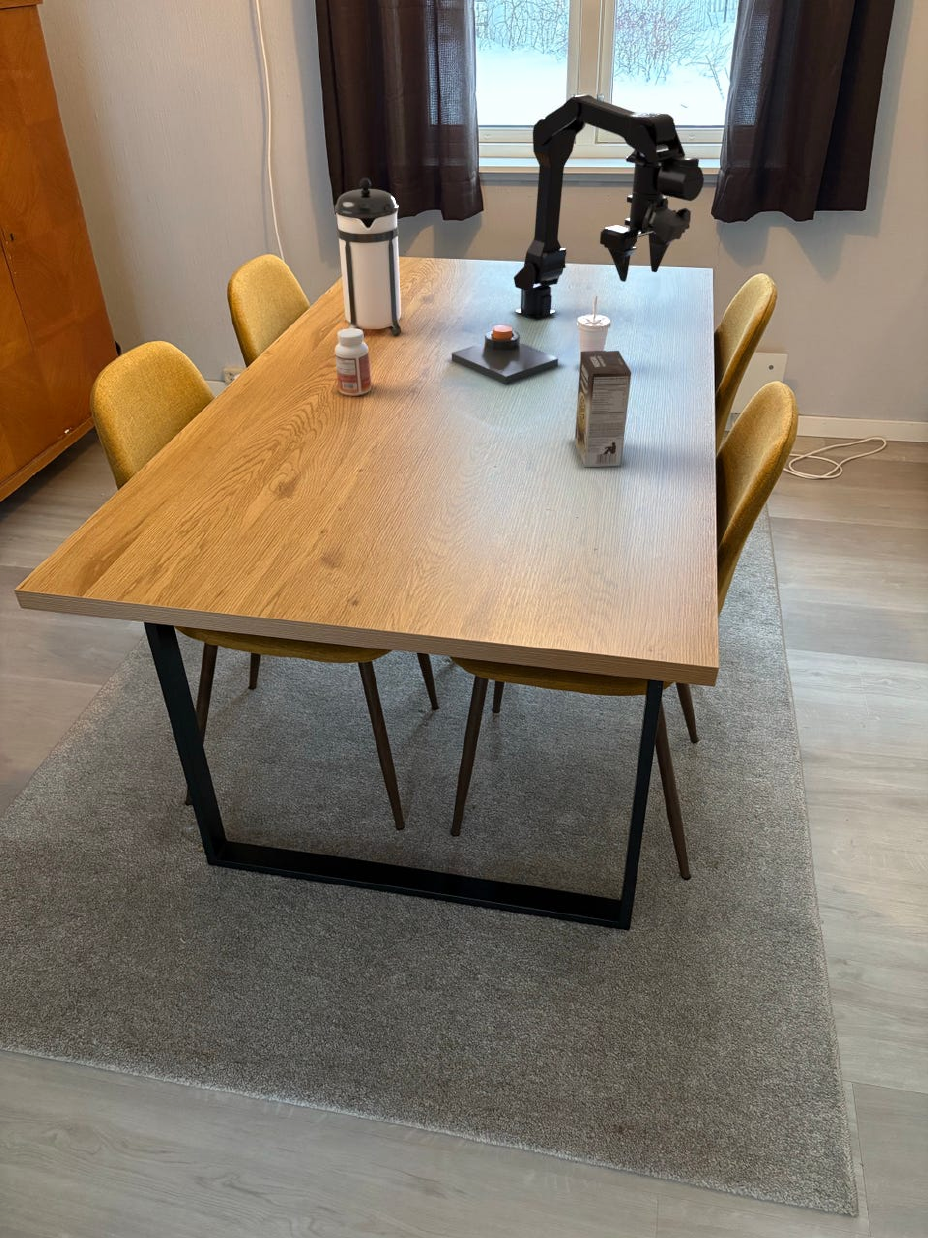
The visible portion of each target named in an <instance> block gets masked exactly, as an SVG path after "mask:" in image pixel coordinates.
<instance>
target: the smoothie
mask: <svg viewBox="0 0 928 1238" xmlns="http://www.w3.org/2000/svg"><path fill="white" fill-rule="evenodd" d="M597 306H598V295H594V296H593V307H592V308H593V309H592V314H585V315H582V316H580V317H578V318H577V323H576V326H577V327H578V340H579V341H578V342H579V343H578V345H579V359H580V358H581V352H584V351H605V345H606V341H607V337H608V333H609V332H608V331H609V329H610V328H611V322H612V321H611V319H610V318H609V317H606V316H605V315H602V314H601V315H600V314H597Z"/></svg>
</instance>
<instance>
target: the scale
mask: <svg viewBox="0 0 928 1238" xmlns="http://www.w3.org/2000/svg"><path fill="white" fill-rule="evenodd" d="M451 362H454V363H456V364H458V365H461V366H462V367H464V368H467V369H470V370H471V371H473V372H476V373H478V374H481V375H483V376H484V377H487V378H489V379H492V380H493V381H496V382H498V383H500V384H502V385H505V386H507V385H509V384H512V383H515V382H518V381H520V380H523V379H526V378H529V377H532V376H534V375H538V374H540V373H543V372H545V371H549V370H551V369H554V368H556V367H558V364H559V358H558V357H556V356H553V355H551V354H548V353H546V352H543V351H541V350H538V349H535V348H533V347H531V346H529V345H525V344H524V343H521V335H520V333H519V332H518V331H516V330H513V332H512V338H509V339H496V338H493V329H491V330H489V331H487V332H486V333H485V334H484V342H481V343H479V344H476V345H472V346H469V347H466V348H464V349H460V350H457V351H454V352H451Z"/></svg>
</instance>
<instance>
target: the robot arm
mask: <svg viewBox="0 0 928 1238" xmlns="http://www.w3.org/2000/svg"><path fill="white" fill-rule="evenodd" d="M674 121H675V120H674V118H673V117H672V116H671V115H670V114H667V113H657V112H635V111H632V110H629V109H626V108H623V107H621V106H618V105H615V104H612V103H609V102H606V101H603V100H601V99H598V98H595V97H594V96H592V95H590V94H581V95H574V96H571V97H570V98H569V99H568V100H566V101H565V103H563V104H562V105H561V106H560V107H558V108H556V109H555V110H554V111H552V112H551V113H549V114H548V115H546V116H545V117H544V118H540V119H538V121H537V122H536V123H535V124H534V125H533V128H532V150H533V154H534V156H535V159H536V161H537V163H538V167H539V168H538V183H537V196H536V197H537V198H536V208H535V222H534V223H535V224H534V235H533V239H532V241H531V243H530V244H529V247H528V248H527V250H526V253H525V258H524V263H523V266H522V268H521V269H520V270H519V271H518V272H517V273H516V274H515V275H514V276H513V283H514V286H515V289H516V288H517V289H519V290H520V308H519V309H516V310H515V314H517V315H520V316H523V317H526V318H528V319H531V320H533V321H534V320H539V319H543V318H546V317H548V316H552V315H555V314H556V311H555V310H552V299H553V298H552V297H553V296H552V286H553V285H557V284H558V281H559V279H560V276H562V275H563V272H564V269H566V267H567V266H566V258H567V254H568V253H567V248H562V246H561V244H560V241H559V229H560V228H559V226H560V217H561V216H560V215H561V205H562V204H561V202H562V194H563V193H562V192H563V181H564V171H565V170H564V169H565V166H566V164H567V162H568V160H569V159H570V157H571V155H572V153H573V151H574V147H575V141H576V137H577V135H579V134H580V133H581V131H583V130H584V129H585V127H586V125H590V126H592V127H594V128H598V129H601V130H603V131H606V132H608V133H611V134H614V135H616V136H619V137H621V138H622V139H623V140H624V142H625V143H626V145H627V146H629V147H630V148H632V149H633V151H632V152H631V154H629V155H628V156H626V157H625V161H626V162H627V163H630V164H634V171H633V181H632V191H631V195H627V196H626V203H629V204H630V213H629V217H628V218H625V219H624V226H621V225H613V226H607V227H605V228H603V229H602V230H601V231H600V236H599V244H600V245H603V247H604V248H605V249H607V250H608V252H609V254H610V256H611V259H612V261H613V264H614V266H615V269H616V272H617V275H618V278H619V281H620V282H623V283H625V282H626V281H627V278H628V274H629V268H630V262H631V256H632V255H633V253H634V252H635V251H636V250H637V249H638V248H637V247H635V245H636V244H637V243H638V238H641V237H644V236H645V237H646V236H648V247H649V262H650V264H649V265H650V270H651V272H652V273H657V272H658V270H659V268H660V266H661V263H662V261H663V259H664V257H665V255H666V252H667V250H668V248H669V246H670V245H671V244H672V243H673V242H674V241H675V240H681V238H682V236H683V234H685V233H686V231H687V230H689V229H690V224H691V219H692V218H691V217H692V216H691V215H692V210H690V209H689V208H687V207H683V208H680V209H678V210H676V209H673V210H671V209H670V208H669V200H668V197H670V198H675V199H678V200H683V201H688V202H693V201H694V200H697V198H698V196H700V194H701V192H702V189H703V187H704V182H705V178H704V173H703V170H702V168H701V167H700V166H699V163H700V160H699V158H696V157H690V158H689V157H686V153H685V149H684V148H683V145H682V142H681V140H680V137H679V135H678V131H677V129H676V123H675V122H674ZM625 226H627V227H625Z"/></svg>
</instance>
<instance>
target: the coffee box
mask: <svg viewBox="0 0 928 1238" xmlns="http://www.w3.org/2000/svg"><path fill="white" fill-rule="evenodd" d="M578 375H579V376H578V391H577V404H576V405H577V406H576V416H575V434H574V436H575V437H574V444H575V447H576V449H577V453H578V455H579V457H580V459H581V462H582V465H583V467H584V468H601V467H621V465H622V459H623V450H624V440H625V433H626V424H627V416H628V409H629V400H630V399H629V398H630V392H631V391H630V390H631V381H632V371H631V370H630V367H629V366H628V364H627V362H626V360H625V359H624V356H622V353H621V352H620V351H619V350H609V351H607V350H604V351H584V352H581V358H580V357H579V373H578Z"/></svg>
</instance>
